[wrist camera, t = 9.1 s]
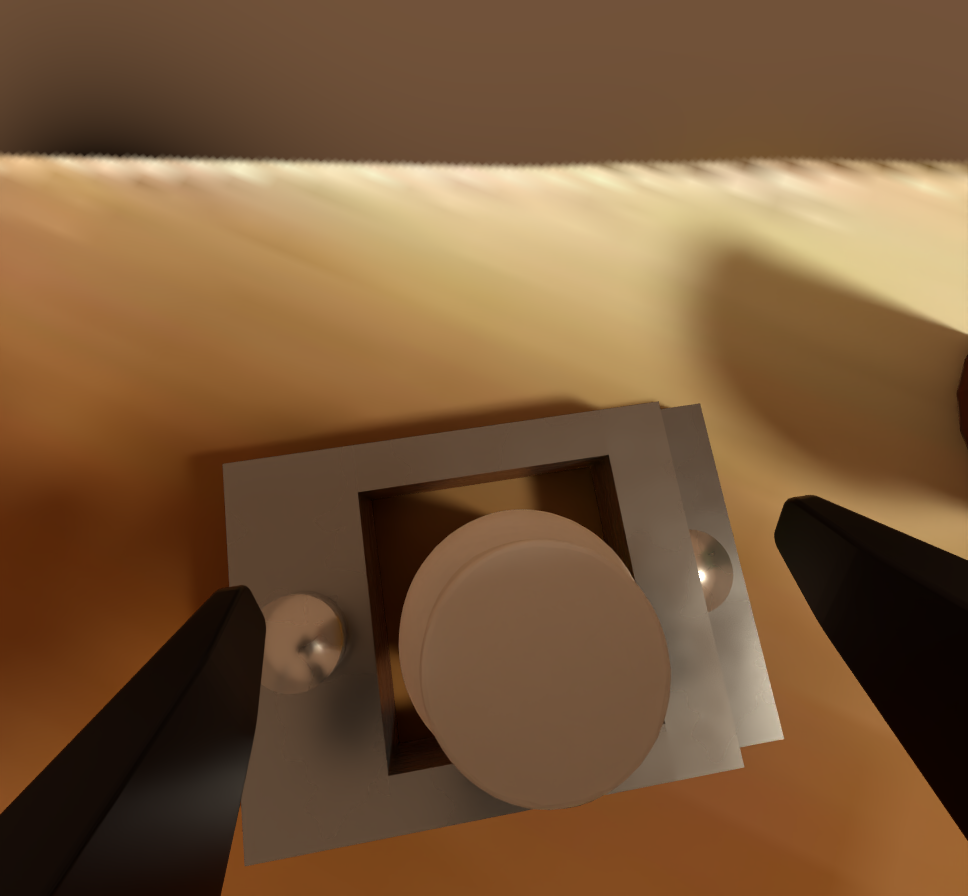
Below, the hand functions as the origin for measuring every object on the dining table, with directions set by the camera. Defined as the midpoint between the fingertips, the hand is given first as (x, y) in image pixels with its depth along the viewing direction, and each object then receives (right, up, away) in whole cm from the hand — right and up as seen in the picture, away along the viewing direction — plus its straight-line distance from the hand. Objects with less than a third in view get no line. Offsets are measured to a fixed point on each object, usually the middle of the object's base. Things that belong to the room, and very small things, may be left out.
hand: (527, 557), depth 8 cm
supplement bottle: (0, -4, +9) cm, 10 cm away
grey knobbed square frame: (0, -3, +9) cm, 10 cm away
